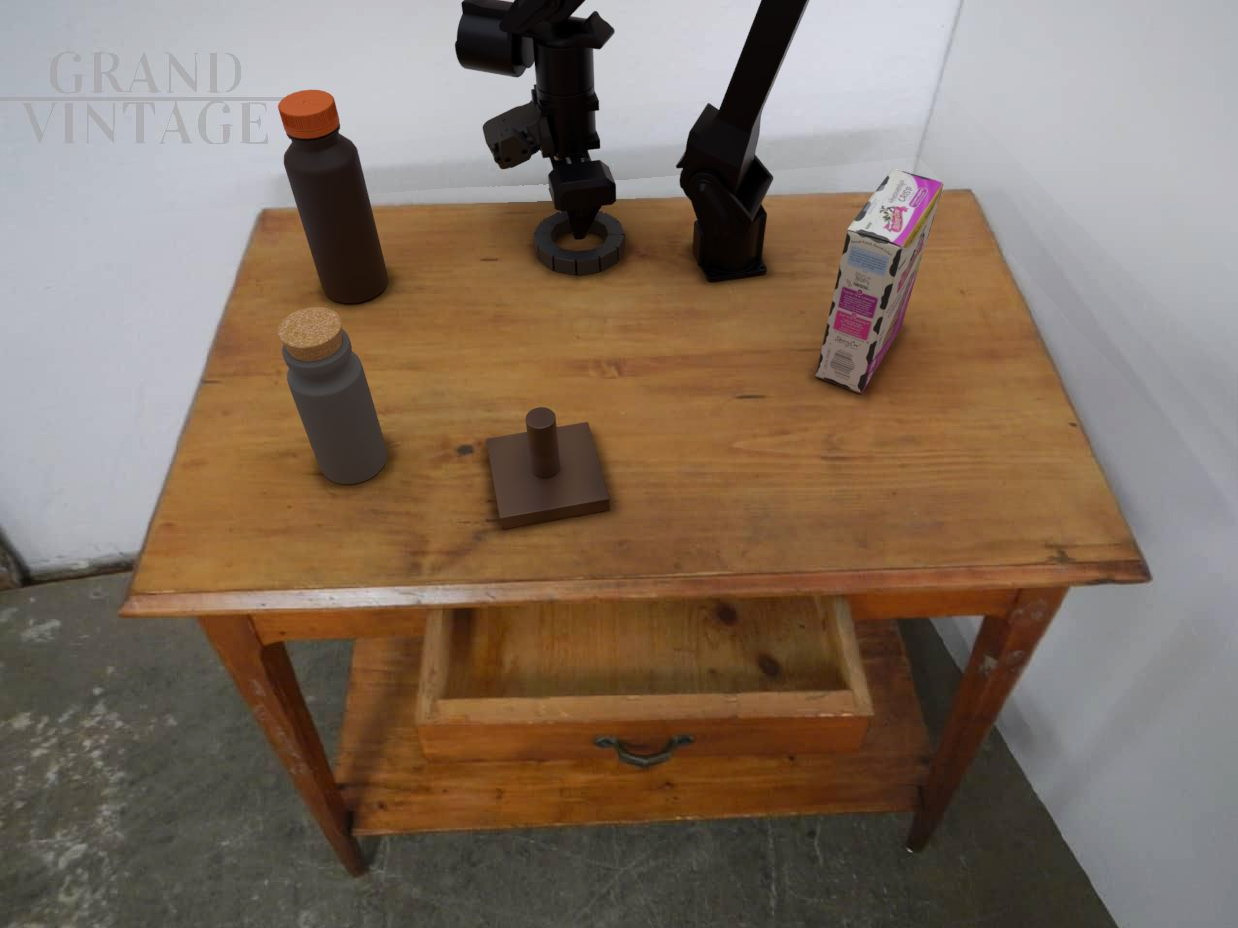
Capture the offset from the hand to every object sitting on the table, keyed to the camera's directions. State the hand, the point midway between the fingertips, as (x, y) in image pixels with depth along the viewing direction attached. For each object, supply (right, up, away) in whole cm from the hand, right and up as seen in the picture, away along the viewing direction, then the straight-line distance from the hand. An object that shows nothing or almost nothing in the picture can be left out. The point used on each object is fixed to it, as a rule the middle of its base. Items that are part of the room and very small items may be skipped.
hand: (572, 219), depth 103 cm
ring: (+1, -4, -2) cm, 4 cm away
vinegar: (-22, -8, -5) cm, 25 cm away
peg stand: (-1, -28, -24) cm, 37 cm away
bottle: (-18, -27, -22) cm, 39 cm away
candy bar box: (+28, -16, -13) cm, 35 cm away
